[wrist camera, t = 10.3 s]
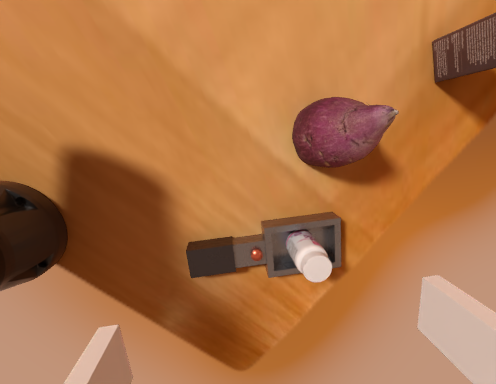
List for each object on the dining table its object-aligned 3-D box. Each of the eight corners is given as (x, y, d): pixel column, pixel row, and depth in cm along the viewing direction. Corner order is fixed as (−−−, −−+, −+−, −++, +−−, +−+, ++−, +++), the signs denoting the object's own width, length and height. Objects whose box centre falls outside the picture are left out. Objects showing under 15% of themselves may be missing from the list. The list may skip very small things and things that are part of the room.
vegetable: (317, 92, 39) (386, 24, 24) (361, 137, 40) (454, 99, 25) (274, 138, 37) (319, 97, 22) (322, 184, 38) (395, 173, 23)
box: (461, 75, 37) (570, 49, 25) (433, 83, 37) (530, 60, 25) (459, 32, 35) (575, -17, 24) (430, 39, 35) (532, -6, 24)
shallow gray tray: (195, 277, 41) (192, 289, 38) (186, 231, 39) (183, 239, 36) (333, 257, 42) (341, 267, 39) (332, 211, 40) (341, 218, 37)
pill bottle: (314, 228, 40) (338, 253, 32) (311, 255, 41) (332, 285, 33) (286, 228, 40) (302, 253, 31) (283, 254, 41) (298, 285, 32)
